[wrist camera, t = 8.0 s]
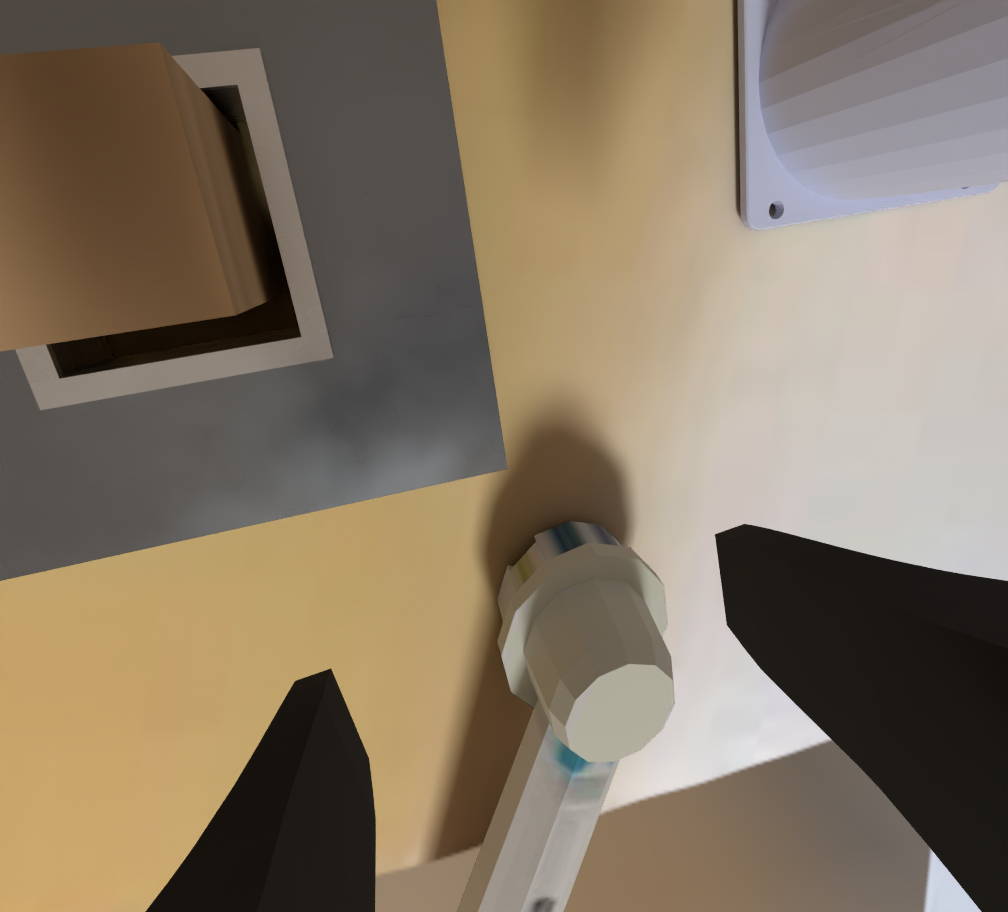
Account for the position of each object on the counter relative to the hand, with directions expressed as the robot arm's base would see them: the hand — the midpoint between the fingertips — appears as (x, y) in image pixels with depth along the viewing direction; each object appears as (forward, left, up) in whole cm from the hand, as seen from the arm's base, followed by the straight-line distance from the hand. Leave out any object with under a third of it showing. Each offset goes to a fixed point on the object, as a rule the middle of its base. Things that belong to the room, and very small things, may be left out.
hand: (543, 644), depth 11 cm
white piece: (+1, +14, -10) cm, 17 cm away
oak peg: (+6, -8, -9) cm, 14 cm away
